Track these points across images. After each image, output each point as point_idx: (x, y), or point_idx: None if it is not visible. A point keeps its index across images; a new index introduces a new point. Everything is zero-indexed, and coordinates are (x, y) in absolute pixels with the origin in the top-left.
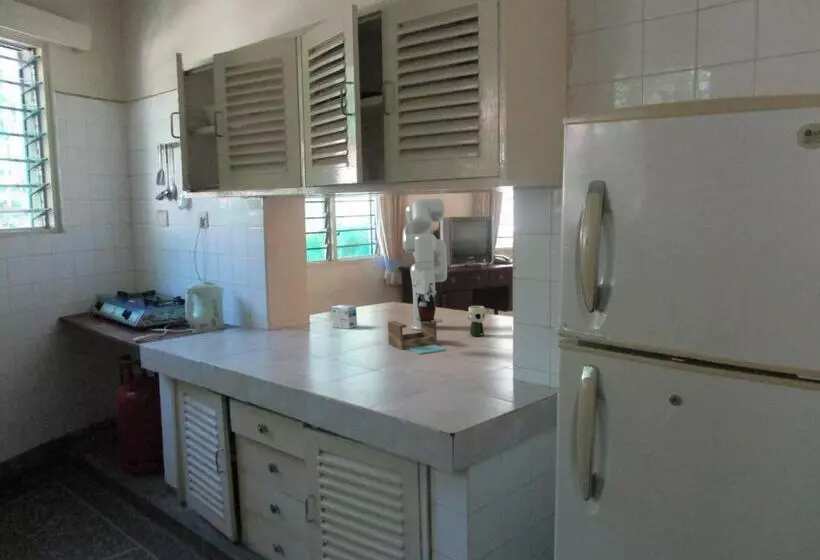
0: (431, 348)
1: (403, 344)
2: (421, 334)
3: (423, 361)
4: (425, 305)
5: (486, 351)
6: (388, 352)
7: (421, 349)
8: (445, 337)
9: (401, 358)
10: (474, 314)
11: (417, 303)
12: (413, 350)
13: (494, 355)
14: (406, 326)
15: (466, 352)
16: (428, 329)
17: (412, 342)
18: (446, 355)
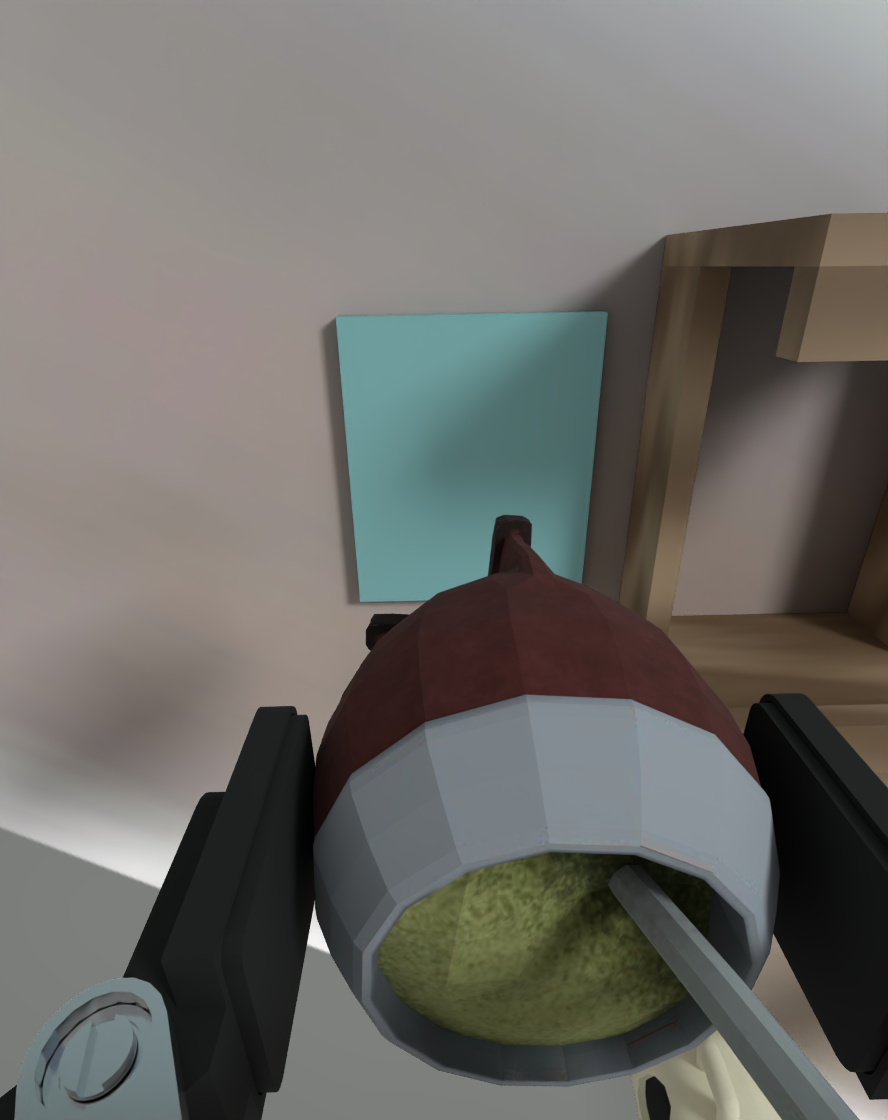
0: (451, 509)
1: (680, 273)
2: (886, 633)
3: (13, 191)
4: (347, 804)
5: (182, 797)
6: (645, 4)
7: (469, 407)
8: None
9: (256, 4)
10: (679, 1117)
11: (882, 784)
12: (485, 314)
13: (41, 785)
14: (783, 354)
15: (214, 686)
16: (790, 690)
17: (666, 401)
18: (181, 515)
